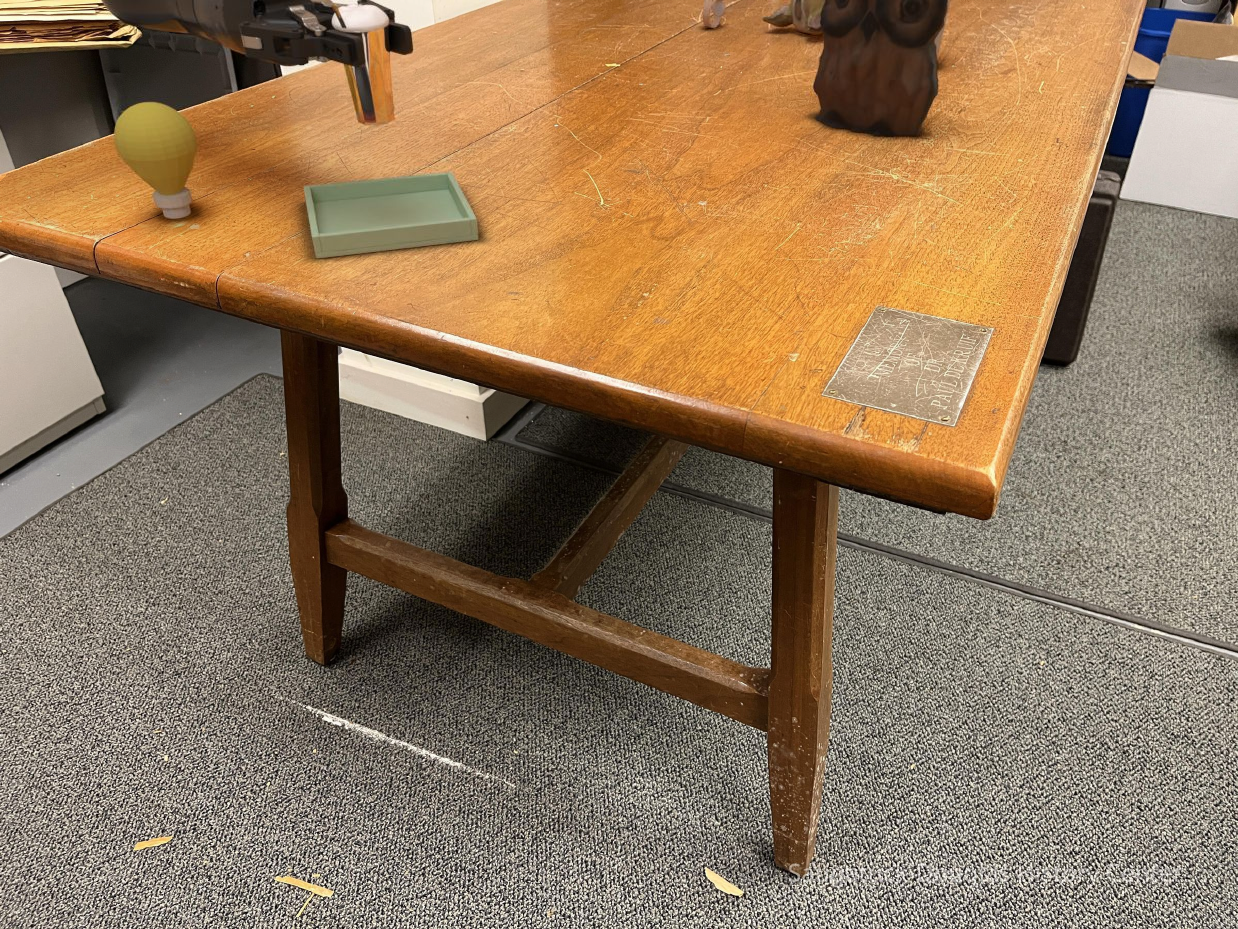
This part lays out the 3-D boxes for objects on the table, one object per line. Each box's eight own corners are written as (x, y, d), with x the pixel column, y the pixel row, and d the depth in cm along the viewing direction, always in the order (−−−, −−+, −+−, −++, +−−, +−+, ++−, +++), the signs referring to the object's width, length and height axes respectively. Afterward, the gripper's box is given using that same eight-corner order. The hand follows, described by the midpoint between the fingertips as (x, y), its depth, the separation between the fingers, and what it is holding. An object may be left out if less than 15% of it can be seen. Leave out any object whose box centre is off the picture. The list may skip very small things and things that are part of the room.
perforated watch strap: (724, 25, 151) (727, -8, 148) (711, 31, 147) (714, -3, 144) (710, 23, 152) (712, -10, 149) (697, 28, 148) (699, -5, 145)
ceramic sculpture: (874, -29, 144) (816, -12, 136) (866, 29, 149) (810, 49, 142) (820, -38, 150) (761, -22, 142) (815, 18, 155) (758, 37, 148)
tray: (316, 258, 78) (311, 236, 77) (307, 205, 87) (303, 185, 86) (478, 239, 82) (477, 218, 80) (453, 191, 91) (451, 171, 89)
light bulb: (122, 220, 83) (85, 108, 77) (175, 195, 88) (144, 88, 82) (179, 232, 81) (146, 119, 75) (230, 206, 86) (203, 98, 80)
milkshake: (333, 127, 78) (309, 0, 71) (369, 107, 82) (348, -15, 75) (378, 135, 77) (357, 7, 70) (412, 114, 80) (395, -9, 74)
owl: (931, 138, 107) (976, -55, 94) (828, 141, 105) (860, -55, 93) (892, 106, 116) (927, -73, 104) (797, 108, 115) (822, -73, 103)
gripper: (174, -23, 75) (305, 11, 67) (315, -44, 84) (445, -17, 76) (197, 73, 79) (323, 114, 72) (328, 42, 89) (453, 76, 81)
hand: (385, 46), depth 74 cm, fingers closed on milkshake, 4 cm apart
